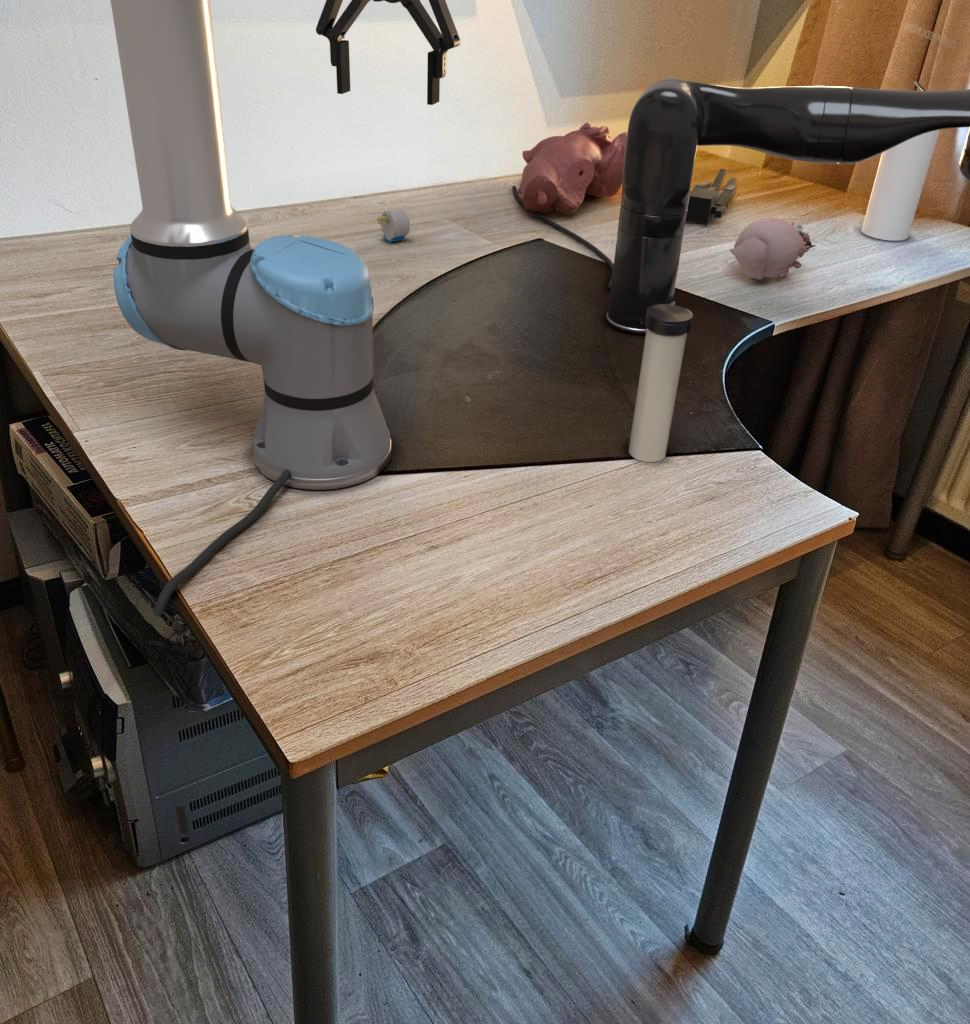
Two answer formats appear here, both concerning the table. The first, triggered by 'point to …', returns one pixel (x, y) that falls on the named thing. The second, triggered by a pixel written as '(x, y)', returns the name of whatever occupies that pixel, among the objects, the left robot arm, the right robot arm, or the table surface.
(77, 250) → the table surface
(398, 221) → the electric motor
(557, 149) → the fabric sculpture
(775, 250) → the toy
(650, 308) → the lid
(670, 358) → the beige cylinder
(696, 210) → the toy
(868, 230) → the tall white tube
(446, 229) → the table surface
